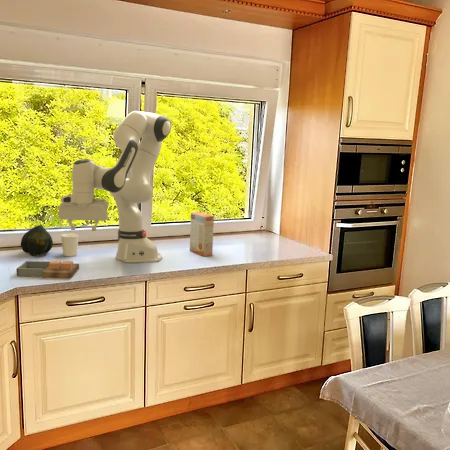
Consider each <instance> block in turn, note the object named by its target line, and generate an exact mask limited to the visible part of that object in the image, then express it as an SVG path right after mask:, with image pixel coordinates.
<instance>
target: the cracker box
mask: <svg viewBox="0 0 450 450" xmlns="http://www.w3.org/2000/svg"><path fill="white" fill-rule="evenodd" d="M214 218H215V216H214V215H211V214H208V213H205V212H201V211H195V212H194V211H193V212H190V232H189V233H190V234H189V235H190V236H189V251H190V252H192V253H195V254H196V255H197V254H198V255H199V256H201V257H210V256H213V250H214V249H213V248H214V247H213V245H214V244H213V242H214V223H215V221H214V220H215V219H214Z"/></svg>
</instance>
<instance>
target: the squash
mask: <svg viewBox="0 0 450 450" xmlns="http://www.w3.org/2000/svg"><path fill="white" fill-rule="evenodd" d="M44 227H45V226H43V225H42V224H39V225H36V226H34V227H32V228H30V229H29V230H28V231H26V232H25V233H24V234H23V236H22V237H21V240H20V247H21V249H22V251H23V252H24V253H26V254H30V256H33V257H36V256H42V255H44V254H47V253H49V252H50V251H51V249H52V248H53V245H54V242H53V238H52V235H51V234H50V233H49V232H48V230H47V229H45V228H44Z"/></svg>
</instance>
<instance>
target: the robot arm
mask: <svg viewBox="0 0 450 450" xmlns="http://www.w3.org/2000/svg"><path fill="white" fill-rule="evenodd" d="M171 128H172V123H171V121H170V119H169V118H168V117H167V116H165V115H160V114H157V113H155V112H147V111H141V110H134V111H131V112H130V113H128V115H126V116H125V117H124V118H123V120H122V121H121V122H120V123H119V125H118V126H117V128H116V129H115V132H114V134H113V142H114V144H115V145H116V147H117V148H118V149H120V150H121V154H120V155H119V158H118V160H117V161H116V164H115V165H114V166H112V167H105V166H104V167H103V166H100V165H98V164H96V163H94V161H93V160H92V159H90V158H89V159H88V158H83V159H77V160H76V161H74V162H73V165H72V170H71V183H72V190H71V191H72V192H71V193H70V194H67V195H64V196H62V197H61V198H60V204H59V206H58V218H59V220H66V221H67V222H68V224H69V226H70V231H75V230H76V225H74V224H73V222H74V221H94V225H92V226H91V231H92V232H96V231H97V226H98V224H99V222H100V221H101V222H105V221H106V220H108V218H109V214H108V209H109V202H108V200H107V199H105V198H95V189H98V190H101V191H107V192H109V193H110V194H111V196H112V197H113V199H114V201H115V205H116V209H117V214H118V230H117V241H118V245H117V251H116V254H115V258H116V259H117V260H119V261H122V262H124V263H152V262H153V263H155V262H157V263H158V262H159V261H161V260H162V259H163V255H162V254H161V253H160V252H158V247H157V245H156V244H155V242H153V241H152V240H150V238H148V237H147V230H146V229H145V230H144V229H143V214H142V212H141V210H140V209H139V207H138V204H144V203H148V202H149V201H150V200H151V199H152V197H153V188H152V185H151V175H152V172H153V170H154V167H155V165H156V162H157V160H158V157H159V155H160V153H161V149H162V145H163V141H164V140H165V139H167V137H168V136H169V134H170V133H171V131H172V129H171ZM130 169H131V174H130V177H128V178H127V176H128V173H129V172H130Z"/></svg>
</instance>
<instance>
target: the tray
mask: <svg viewBox="0 0 450 450" xmlns="http://www.w3.org/2000/svg"><path fill="white" fill-rule="evenodd" d="M50 262H51V261H48V260H47V261H44V260H41V261H40V260H39V261H38V260H37V261H36V260H26V261H25V262H23V263H22V264H20V265H19V266H18V267H17V268H16V277H17V276H18V277H17V278H19V277H21V278H22V277H23V278H42V272H43V271H44V270H45V269H46V268H47V267H48V266H49V263H50Z"/></svg>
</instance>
